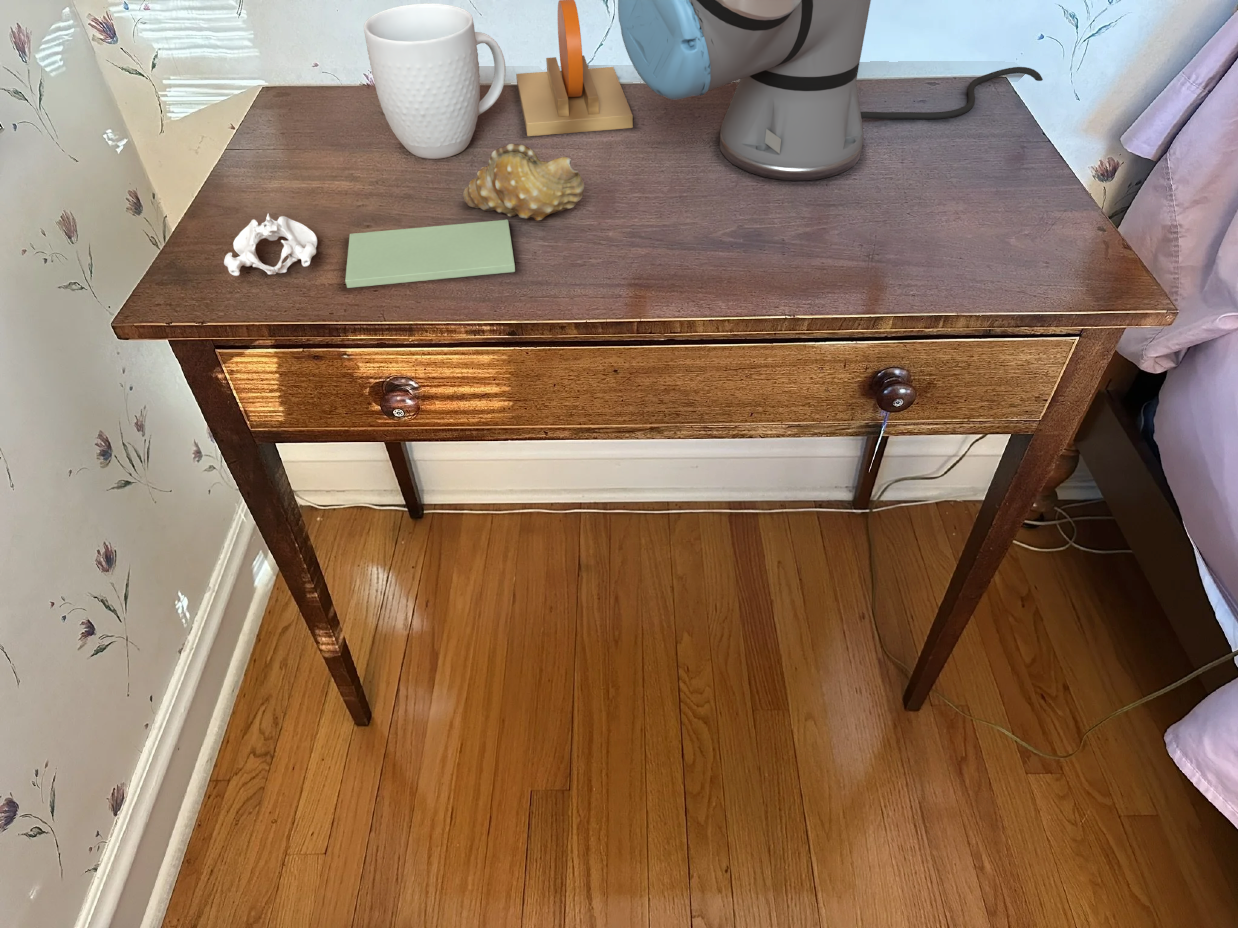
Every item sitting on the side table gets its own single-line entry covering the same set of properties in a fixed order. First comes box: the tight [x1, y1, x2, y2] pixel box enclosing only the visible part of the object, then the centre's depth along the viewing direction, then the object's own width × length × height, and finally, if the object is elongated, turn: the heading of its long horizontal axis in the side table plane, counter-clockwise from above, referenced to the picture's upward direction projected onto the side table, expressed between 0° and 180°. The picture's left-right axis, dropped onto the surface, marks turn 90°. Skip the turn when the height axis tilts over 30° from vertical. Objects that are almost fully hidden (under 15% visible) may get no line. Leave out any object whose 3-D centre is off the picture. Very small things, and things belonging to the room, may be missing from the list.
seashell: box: [462, 143, 585, 221], centre depth 86 cm, size 9×8×10 cm
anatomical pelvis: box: [223, 213, 318, 277], centre depth 81 cm, size 8×4×7 cm
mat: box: [344, 219, 516, 289], centre depth 83 cm, size 15×8×1 cm, turn 99°
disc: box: [557, 0, 583, 97], centre depth 102 cm, size 2×10×10 cm, turn 9°
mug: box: [363, 2, 507, 160], centre depth 95 cm, size 15×11×13 cm
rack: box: [515, 54, 634, 137], centre depth 105 cm, size 12×14×4 cm
